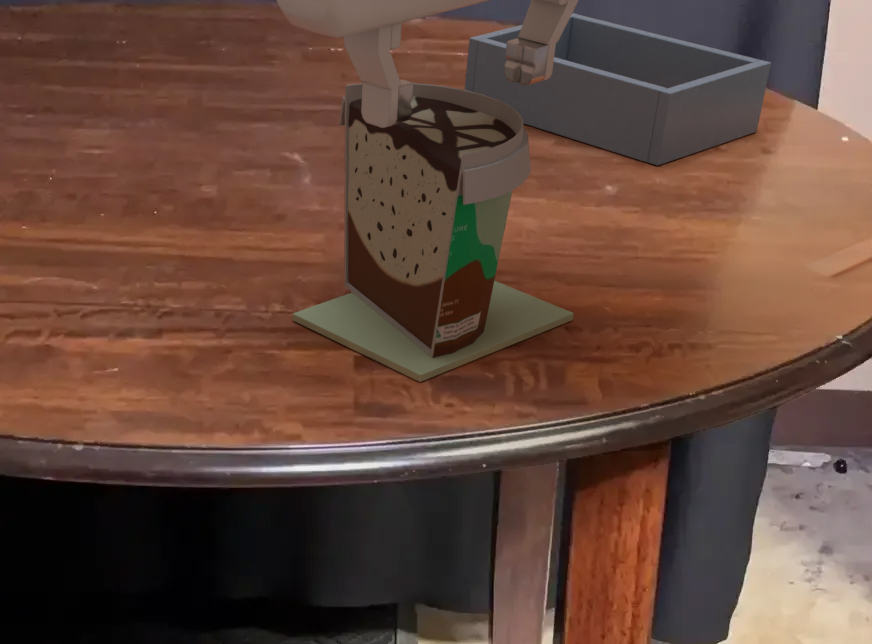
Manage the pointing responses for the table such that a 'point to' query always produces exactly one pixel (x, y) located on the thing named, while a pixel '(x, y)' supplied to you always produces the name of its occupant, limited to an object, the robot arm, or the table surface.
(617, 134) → the box
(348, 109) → the food container
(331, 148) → the table surface
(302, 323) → the mat
